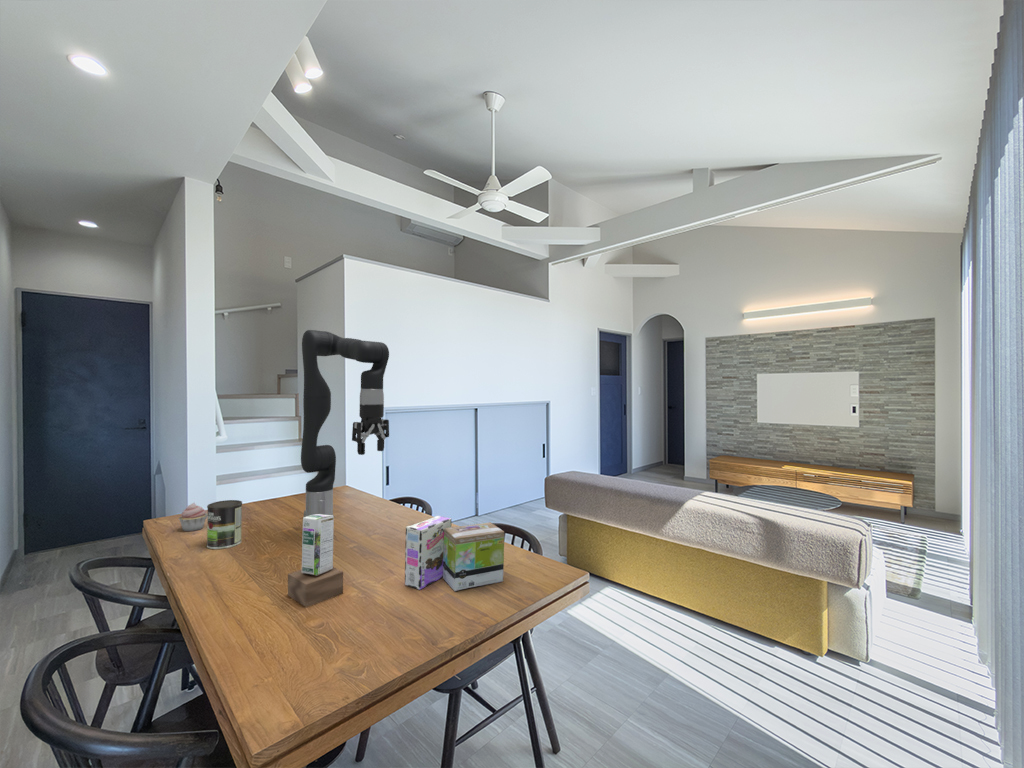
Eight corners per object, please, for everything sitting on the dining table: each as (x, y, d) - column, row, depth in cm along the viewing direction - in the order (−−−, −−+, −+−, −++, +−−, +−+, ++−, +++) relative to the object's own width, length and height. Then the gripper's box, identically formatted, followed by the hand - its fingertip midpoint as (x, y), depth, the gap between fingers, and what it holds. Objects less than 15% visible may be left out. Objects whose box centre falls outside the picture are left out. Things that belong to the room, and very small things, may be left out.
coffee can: (220, 551, 150) (220, 508, 150) (199, 546, 154) (200, 505, 154) (248, 541, 160) (249, 501, 160) (228, 537, 163) (228, 498, 163)
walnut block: (287, 596, 119) (288, 573, 119) (324, 583, 127) (324, 562, 127) (305, 608, 113) (306, 584, 113) (342, 594, 120) (343, 572, 120)
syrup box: (300, 573, 119) (301, 517, 120) (318, 566, 124) (319, 512, 125) (316, 576, 116) (317, 519, 117) (334, 568, 122) (334, 514, 123)
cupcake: (212, 527, 174) (212, 502, 174) (184, 534, 166) (185, 507, 166) (201, 523, 179) (201, 498, 179) (173, 530, 171) (173, 503, 171)
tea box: (454, 593, 121) (455, 538, 121) (442, 578, 130) (442, 527, 130) (504, 582, 128) (504, 530, 128) (489, 569, 137) (489, 520, 137)
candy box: (419, 590, 122) (420, 530, 122) (404, 585, 125) (404, 526, 125) (452, 572, 134) (452, 517, 134) (436, 568, 137) (437, 514, 137)
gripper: (378, 401, 154) (377, 449, 154) (346, 403, 142) (345, 454, 142) (395, 402, 151) (394, 450, 151) (364, 404, 138) (363, 456, 138)
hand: (371, 452), depth 146 cm, fingers open, 8 cm apart
